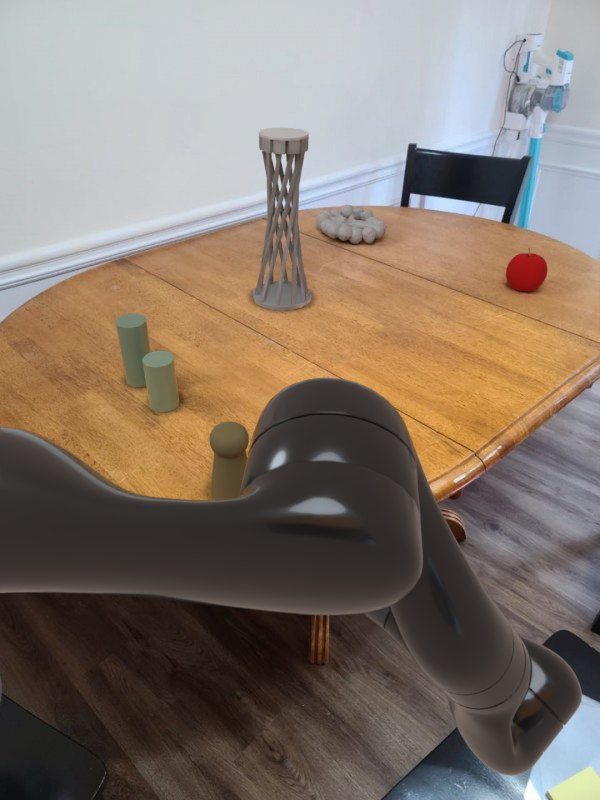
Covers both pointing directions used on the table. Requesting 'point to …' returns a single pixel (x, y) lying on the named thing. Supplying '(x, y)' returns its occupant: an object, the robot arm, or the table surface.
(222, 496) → the olive chess pawn
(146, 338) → the back jar
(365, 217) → the campfire
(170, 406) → the front jar
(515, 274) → the fruit
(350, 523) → the robot arm
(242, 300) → the table surface
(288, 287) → the grey lattice tower
